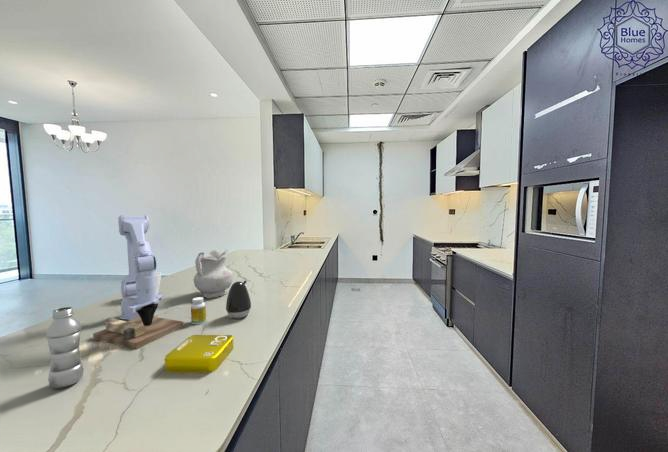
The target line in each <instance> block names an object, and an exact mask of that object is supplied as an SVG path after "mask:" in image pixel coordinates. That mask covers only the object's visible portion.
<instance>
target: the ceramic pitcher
mask: <svg viewBox="0 0 668 452" xmlns="http://www.w3.org/2000/svg"><path fill="white" fill-rule="evenodd" d="M228 250H229V249H224V251H221V250H217V249H213V250H211V251H210V252H209V253H208V254H205V252H202V251H201V252H199V253H198V254H197V256H196V259H195V261H194V262H195V269H196V274H194V278H193V284H194V286H195V288H196V289H197V291H199V292H201V293H203V294H202V297H203V298H204V297H205V299H207V298H208V299H214V298H219V296H220V297H223V296H224V295H226V294H227V293H226V292H225V291H227V290H228V289H230V288H231V286H232V284H233V280H234V274H233V272H232V271H231V270H230V269H229V268H227V267H226V264H225V263H226V262H225V261H226V259H227V256H228V253H229V252H228Z"/></svg>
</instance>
